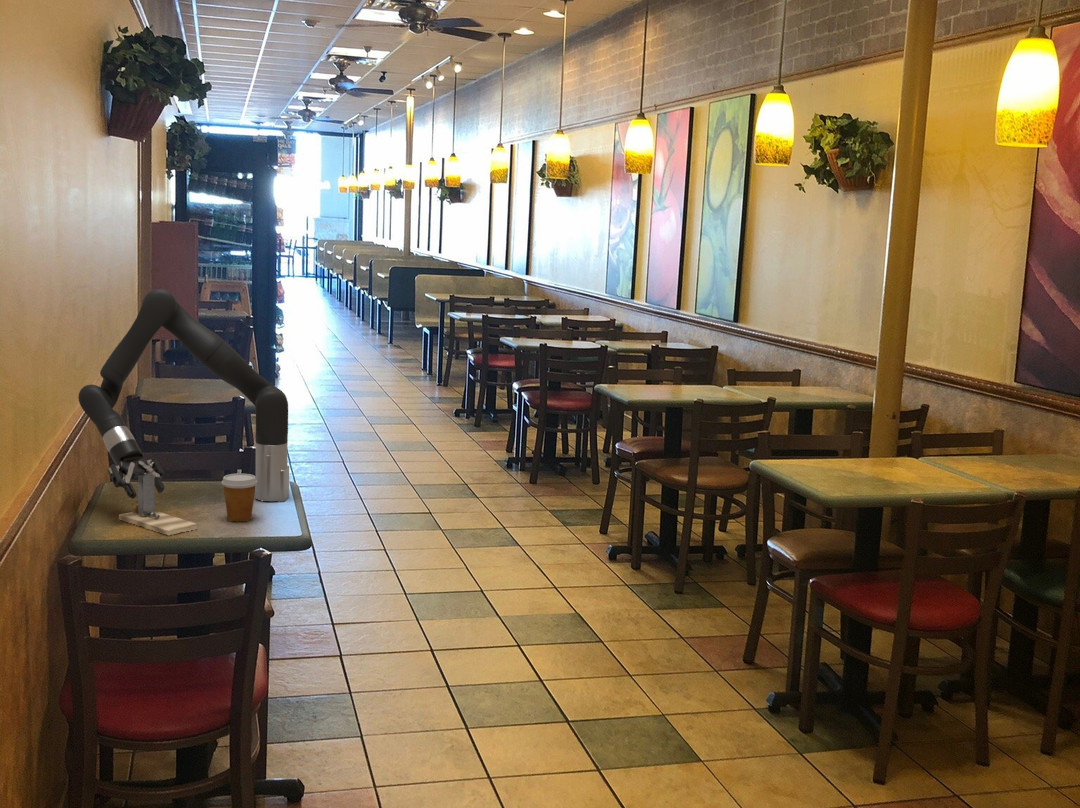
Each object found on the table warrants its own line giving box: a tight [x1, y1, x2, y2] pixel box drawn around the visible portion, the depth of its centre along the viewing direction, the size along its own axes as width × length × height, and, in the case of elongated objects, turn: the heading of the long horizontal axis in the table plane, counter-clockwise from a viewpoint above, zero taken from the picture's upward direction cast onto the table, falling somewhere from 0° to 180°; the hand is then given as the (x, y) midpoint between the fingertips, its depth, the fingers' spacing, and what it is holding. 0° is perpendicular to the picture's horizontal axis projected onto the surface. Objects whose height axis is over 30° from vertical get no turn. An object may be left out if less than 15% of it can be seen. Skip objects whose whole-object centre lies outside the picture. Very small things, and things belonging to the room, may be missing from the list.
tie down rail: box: [118, 502, 199, 535], centre depth 287 cm, size 22×9×4 cm, turn 55°
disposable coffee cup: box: [221, 473, 257, 523], centre depth 295 cm, size 10×10×12 cm
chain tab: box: [137, 473, 160, 518], centre depth 288 cm, size 9×4×11 cm, turn 55°
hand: (148, 494), depth 288 cm, fingers open, 8 cm apart
